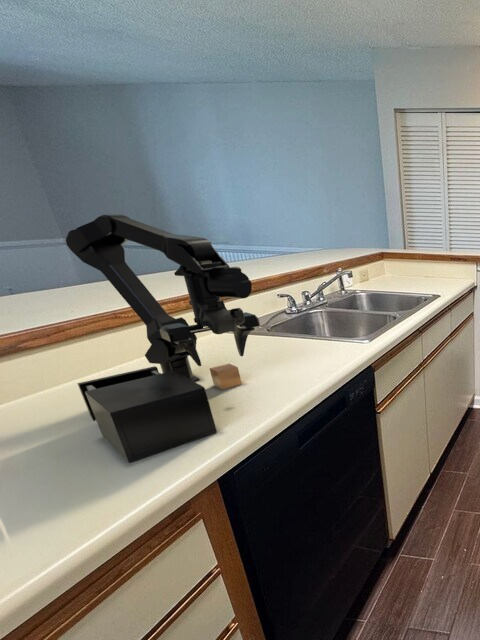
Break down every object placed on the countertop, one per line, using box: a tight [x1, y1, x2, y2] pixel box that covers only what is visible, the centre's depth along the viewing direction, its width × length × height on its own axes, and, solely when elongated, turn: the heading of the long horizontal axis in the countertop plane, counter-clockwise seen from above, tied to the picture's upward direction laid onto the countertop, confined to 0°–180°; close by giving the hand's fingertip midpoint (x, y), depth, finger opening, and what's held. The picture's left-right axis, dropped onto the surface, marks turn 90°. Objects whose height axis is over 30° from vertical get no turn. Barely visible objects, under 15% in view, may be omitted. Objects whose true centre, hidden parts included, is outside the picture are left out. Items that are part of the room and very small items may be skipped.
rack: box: [77, 365, 162, 422], centre depth 85 cm, size 15×12×8 cm
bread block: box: [209, 363, 243, 390], centre depth 103 cm, size 4×4×4 cm
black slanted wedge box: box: [85, 371, 218, 464], centre depth 79 cm, size 15×14×10 cm
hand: (221, 360), depth 102 cm, fingers open, 9 cm apart
